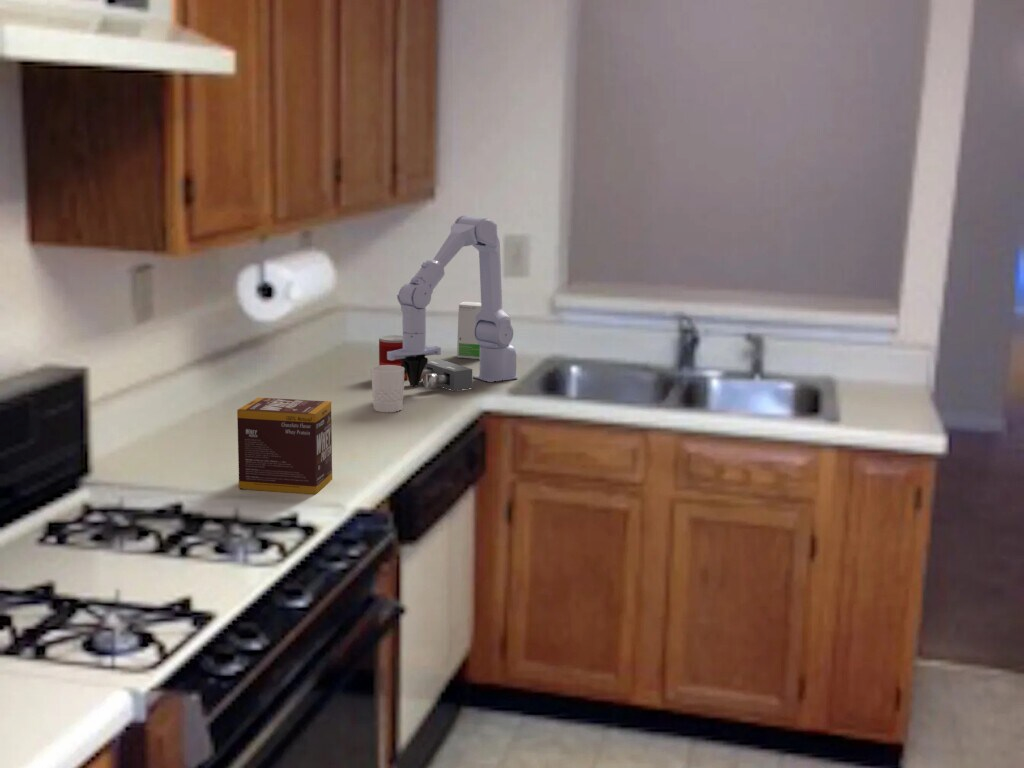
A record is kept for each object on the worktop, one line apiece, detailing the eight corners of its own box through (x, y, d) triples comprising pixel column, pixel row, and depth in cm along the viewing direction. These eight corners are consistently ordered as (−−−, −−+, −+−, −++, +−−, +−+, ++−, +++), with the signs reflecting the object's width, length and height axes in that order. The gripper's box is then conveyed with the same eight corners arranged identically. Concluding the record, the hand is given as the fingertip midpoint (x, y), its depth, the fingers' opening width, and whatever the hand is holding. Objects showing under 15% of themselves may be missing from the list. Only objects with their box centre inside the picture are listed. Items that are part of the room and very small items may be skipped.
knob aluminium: (447, 383, 327) (447, 370, 326) (455, 386, 324) (455, 372, 323) (422, 387, 322) (422, 373, 322) (430, 389, 320) (430, 375, 319)
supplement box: (317, 495, 236) (315, 413, 232) (238, 489, 238) (235, 408, 235) (334, 479, 246) (332, 400, 242) (258, 474, 248) (256, 396, 245)
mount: (440, 378, 337) (440, 358, 336) (472, 389, 325) (472, 368, 324) (422, 380, 334) (422, 360, 332) (454, 391, 322) (454, 370, 321)
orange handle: (431, 378, 333) (431, 364, 332) (438, 380, 330) (438, 367, 329) (406, 381, 329) (406, 367, 328) (413, 383, 326) (413, 370, 325)
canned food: (408, 382, 332) (407, 340, 330) (377, 381, 332) (377, 340, 330) (410, 375, 340) (410, 335, 337) (381, 375, 340) (380, 334, 338)
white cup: (411, 409, 302) (411, 368, 300) (386, 415, 297) (386, 373, 295) (389, 404, 308) (389, 363, 306) (364, 409, 302) (364, 368, 300)
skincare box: (456, 358, 364) (456, 304, 361) (461, 353, 371) (461, 301, 367) (485, 359, 363) (485, 305, 360) (489, 355, 369) (490, 302, 366)
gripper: (430, 327, 323) (430, 379, 326) (380, 332, 315) (381, 385, 318) (445, 331, 317) (445, 384, 320) (395, 336, 309) (395, 391, 312)
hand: (414, 385), depth 319 cm, fingers closed
